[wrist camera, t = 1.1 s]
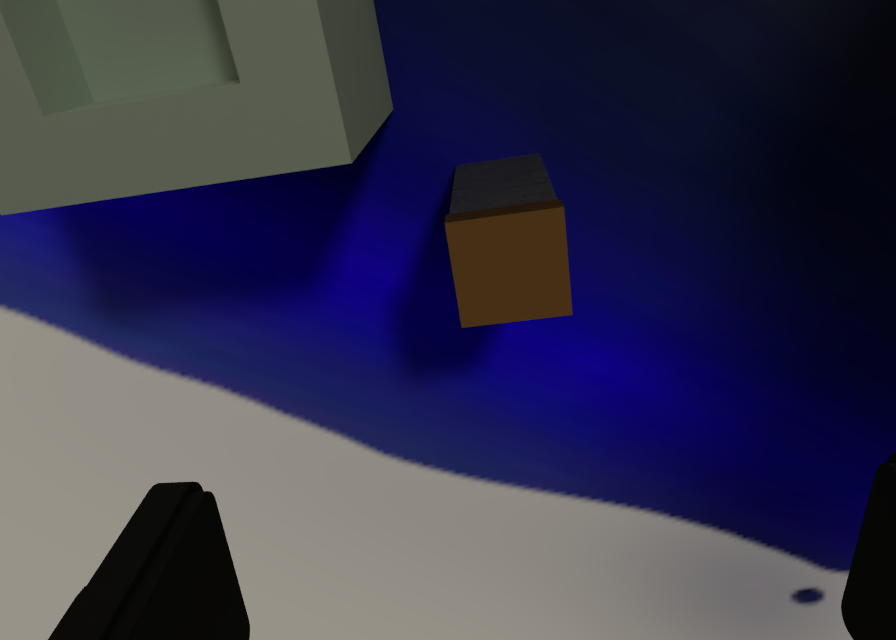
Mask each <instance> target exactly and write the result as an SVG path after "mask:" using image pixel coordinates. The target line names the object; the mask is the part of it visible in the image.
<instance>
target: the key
mask: <svg viewBox="0 0 896 640" xmlns="http://www.w3.org/2000/svg"><path fill="white" fill-rule="evenodd" d="M445 229H446V235H447V241H448V247H449V254H450V260H451V266H452V272H453V278H454V284H455V290H456V296H457V303H458V309H459V315H460V321H461V327H462V328H465V327H474V326H482V325H491V324H499V323H508V322H516V321H524V320H533V319H541V318H550V317H558V316H567V315H572V302H571V289H570V277H569V264H568V252H567V239H566V226H565V214H564V206H563V203H562V201H561V199H557V198H556V195H555V192H554V190H553V187H552V185H551V182H550V179H549V177H548V174H547V172H546V169H545V166H544V164H543V161H542V159H541V156H540V153H539V154H532V155H525V156H518V157H511V158H504V159H498V160H491V161H484V162H477V163H470V164H463V165H456V170H455V177H454V184H453V191H452V198H451V206H450V213H449V214H447V215H446V217H445Z"/></svg>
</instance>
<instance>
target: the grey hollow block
mask: <svg viewBox="0 0 896 640" xmlns="http://www.w3.org/2000/svg"><path fill="white" fill-rule="evenodd" d="M392 110H393V105H392V100H391V94H390V89H389V83H388V78H387V73H386V67H385V62H384V56H383V51H382V45H381V40H380V35H379V29H378V24H377V18H376V13H375V7H374V2H373V0H0V213H1V215H7V214H14V213H20V212H27V211H34V210H41V209H47V208H54V207H61V206H68V205H74V204H81V203H88V202H95V201H101V200H108V199H115V198H122V197H128V196H135V195H142V194H149V193H155V192H162V191H169V190H175V189H182V188H189V187H196V186H202V185H209V184H216V183H223V182H229V181H236V180H243V179H250V178H256V177H263V176H270V175H277V174H283V173H290V172H297V171H304V170H310V169H317V168H324V167H330V166H337V165H344V164H351V163H353V161H354V160H355V159H356V157H357V156H358V155H359V154H360V152H361V151H362V150H363V148H364V147H365V146H366V144H367V143H368V142H369V140H370V139H371V138H372V137H373V135H374V134H375V133H376V131H377V130H378V129H379V127H380V126H381V125H382V123H383V122H384V121H385V120H386V118H387V117H388V116H389V114H390V113H391V112H392Z"/></svg>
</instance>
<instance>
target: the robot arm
mask: <svg viewBox="0 0 896 640" xmlns="http://www.w3.org/2000/svg"><path fill="white" fill-rule="evenodd" d="M841 610H842V616H843V620H844V623H845V626H846V628H847V630H848V632H849V633H850V635H851V637H852V638H853V639H854V640H896V453H893V454H892V455H891V456H890V457H889V458H888V461H887V463H885V464H881V465H880V466H879V467H878V468H877V470H876V472H875V476H874V480H873V484H872V488H871V491H870V495H869V499H868V503H867V507H866V511H865V514H864V518H863V522H862V526H861V530H860V534H859V537H858V541H857V545H856V549H855V553H854V556H853V560H852V564H851V568H850V572H849V576H848V579H847V583H846V587H845V591H844V595H843V599H842V605H841ZM249 637H250V624H249V619H248V615H247V612H246V608H245V605H244V601H243V598H242V594H241V591H240V587H239V583H238V579H237V576H236V572H235V569H234V565H233V561H232V558H231V555H230V551H229V547H228V543H227V540H226V536H225V532H224V529H223V525H222V522H221V518H220V514H219V511H218V507H217V503H216V500H215V497H214V495H213V494H212V492H208V491H206V492H204V491H203V489H202V487H201V485H200V484H199V483H197V482H178V483H158V484H156V485H154V486H153V487H152V488H151V489H150V490H149V492H148V493H147V495H146V497H145V498H144V499H143V501H142V502H141V504H140V505H139V507H138V509H137V510H136V511H135V513H134V515H133V516H132V517H131V519H130V521H129V522H128V524H127V525H126V527H125V528H124V530H123V531H122V533H121V534H120V536H119V537H118V539H117V540H116V542H115V543H114V545H113V547H112V548H111V550H110V551H109V553H108V554H107V556H106V557H105V559H104V560H103V562H102V563H101V565H100V566H99V568H98V570H97V571H96V572H95V574H94V575H93V577H92V578H91V580H90V582H89V583H88V585H87V586H85V587H84V588H83V589H82V591H81V592H80V593H79V594H78V595H77V597H76V598H75V599H74V601H73V602H72V604H71V606H70V607H69V608H68V610H67V612H66V613H65V615H64V616H63V618H62V619H61V621H60V622H59V624H58V625H57V627H56V628H55V630H54V631H53V633H52V634H51V636H50V637H49V639H48V640H249Z"/></svg>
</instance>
